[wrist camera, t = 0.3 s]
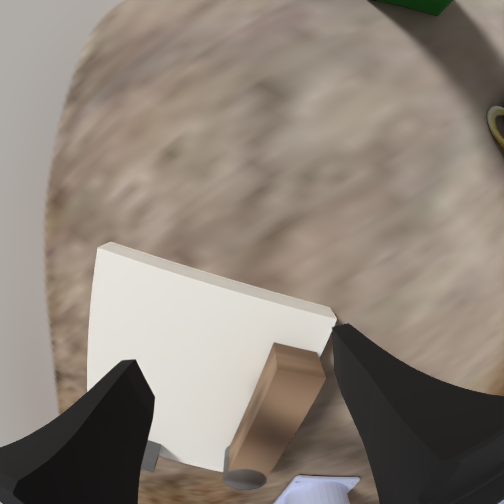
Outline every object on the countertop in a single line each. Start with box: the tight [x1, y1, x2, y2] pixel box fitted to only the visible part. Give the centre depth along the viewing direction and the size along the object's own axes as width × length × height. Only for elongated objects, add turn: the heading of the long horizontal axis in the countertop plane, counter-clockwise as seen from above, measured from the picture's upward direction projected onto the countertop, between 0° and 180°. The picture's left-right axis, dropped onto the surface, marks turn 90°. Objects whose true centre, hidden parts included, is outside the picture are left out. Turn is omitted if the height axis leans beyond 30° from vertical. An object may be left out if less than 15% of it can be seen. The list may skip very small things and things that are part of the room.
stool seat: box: [87, 242, 337, 473], centre depth 20 cm, size 18×16×4 cm
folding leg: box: [222, 342, 326, 490], centre depth 19 cm, size 13×3×3 cm, turn 163°
